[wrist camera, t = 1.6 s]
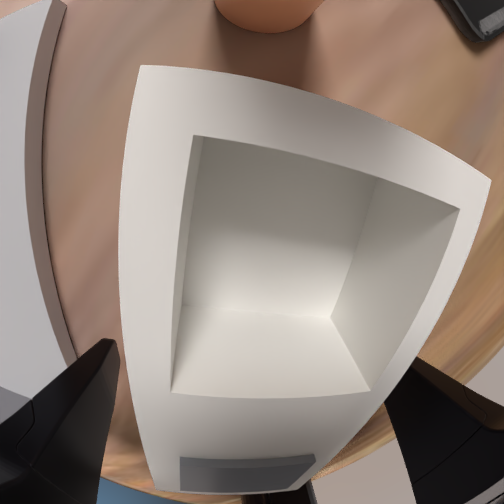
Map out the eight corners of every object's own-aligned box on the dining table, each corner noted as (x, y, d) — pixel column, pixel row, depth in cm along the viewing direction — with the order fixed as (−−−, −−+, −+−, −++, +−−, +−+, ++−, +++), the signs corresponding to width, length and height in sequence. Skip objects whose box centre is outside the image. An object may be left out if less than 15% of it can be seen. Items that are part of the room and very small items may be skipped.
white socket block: (277, 408, 13) (298, 494, 8) (162, 402, 12) (155, 495, 7) (371, 148, 8) (502, 184, 3) (185, 104, 7) (133, 59, 2)
